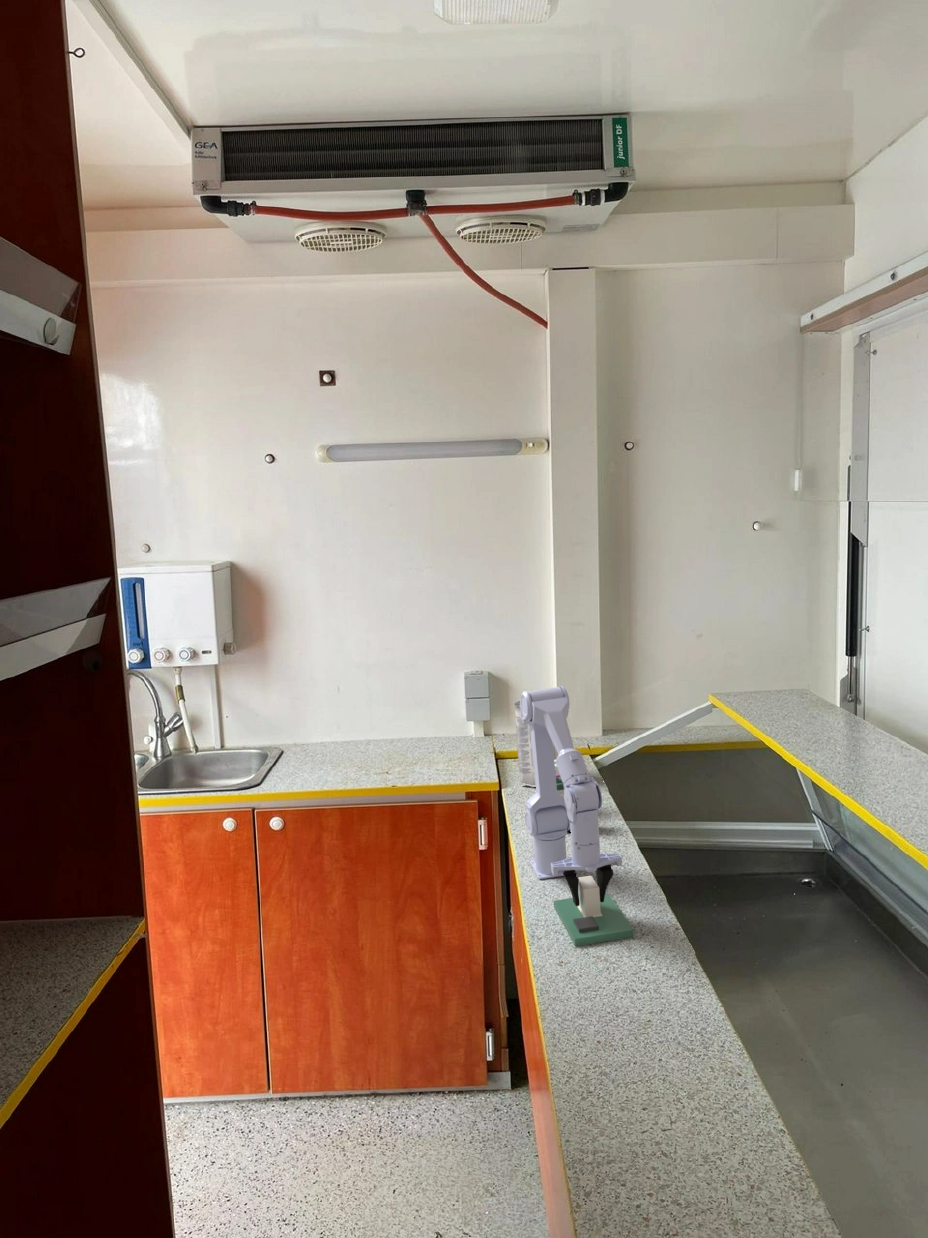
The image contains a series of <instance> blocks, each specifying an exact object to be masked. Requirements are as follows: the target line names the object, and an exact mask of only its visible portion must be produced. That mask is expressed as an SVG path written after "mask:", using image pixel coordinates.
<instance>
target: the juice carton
mask: <svg viewBox="0 0 928 1238" xmlns="http://www.w3.org/2000/svg"><path fill="white" fill-rule="evenodd" d="M514 711H515V712H514V715H515V730H516V741H517V743H516V744H517V756H518V757H517V758H518V760H517V761H518V771H519V780H520V783H521V782H522V783H525V784H530V785H535V775H534V764H533V753H532V743H531V732H530V727H529V725H528V724H523V722H522V718H521V709H520V700H518V701H516V702H515V703H514ZM553 753H554V760H556V759H557V757H558V753H557V751H556V748H555V746H554V744H553Z"/></svg>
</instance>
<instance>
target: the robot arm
mask: <svg viewBox="0 0 928 1238" xmlns="http://www.w3.org/2000/svg"><path fill="white" fill-rule="evenodd" d="M519 701H520V709H521V718H522V722H523V724H528V725H529V727H530V732H531V743H532V753H533V764H534V775H535V785H536V788H535V793H534V794H533V795H532V796H531V797H530V798H528V799H527V800H526V801H525V806H524V808H525V813H524V822H525V827H526V830H527V832H528V834H529V835H530V836H531V842H532V853H533V854H532V855H533V859H531V860H529V864H530V863H531V864H530V866H531V865H532V866H531V867H533V868H532V869H533V871H534V873H535V875H536V877H537V878H538V879H539V880H543V879H545V880H546V879H551V878H557V877H564V879H565V880H566V883H567V885H568V888H569V890H570V892H571V898H573V902H574V904H575V905H576V906H579V894H578V885H579V879H578V875H577V872H579V871H586V872H587V873H591V872H595V877H596V883H597V885H598V886H599V893H600V902H604V898H605V893H607V889H608V885H609V884H610V882H611V879H612V878H613V876H614V870H613V869H612V866H617V867H622V866H623V857H622V855H621V854H620V853H601V849H600V847H601V846H600V829H599V828H600V827H599V826H600V825H599V811H598V810H600V809H601V808H602V805H603V796H602V795H603V794H602V792H601V788H600V785H599V783H598V782H597V780H595V778H594V777H593V775H590V773H589V769H588V768H587V765H586V763H585V759H584V755H583V754H582V752H581V751H579V750H578V749H575V746H574V743H573V739H572V735H571V733H570V732H571V731H570V729H569V725H568V721H567V719H568V717H569V710H570V704H571V703H570V697H569V693H568V691H567V689H566V688H565V687H564V686H562V685H559V686H555V687H549V688H542V689H535V690H524V691H522V693H521V695H520V698H519ZM553 744H554V746H555V748H556V751H557V753H558V757H557V759H556V765H557V768H558V771H559V774H560V776H561V779H562V782H563V785H564V788H565V790H564V796H563V795H562V794H560V793H558V792H557V785H556V774H555V764H554V753H553ZM567 830H570V831H571V833H570V844H571V857H569V858H567V846H566V844H567V843H566V836H567V835H568V833H567ZM532 862H533V863H532Z"/></svg>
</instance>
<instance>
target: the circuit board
mask: <svg viewBox="0 0 928 1238" xmlns="http://www.w3.org/2000/svg"><path fill="white" fill-rule="evenodd" d="M553 908H554V910H555V912H556V914H557V916H558V919H560V921H561V923H562V925H563V926H564V928H565V931H566V932H567V934H568V936H569V938H570V940H571V942H572V944H573V945H574V946H575V947H578V946H584V945H591V944H598V943H605V942H609V941H615V940H621V939H627V938H628V939H629V938H634V937H635V931H634V928H633V926H632V925H631V923H629V921H628V919H627V918H626V917H625V914H623V912H622V911H621V909H620V908H619V906H618V904H616V902H615V901H614V899H613V898H612V896H611V895H610V893H609V892H606V893H605V898H604V902H600V911H601V915H597V916H590V917H585V916H584V914H583V912H582V911H581V909H580V907H579V906H576V905H575V904H574V902H573V897H570V898H563V899H556V900H553Z"/></svg>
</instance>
